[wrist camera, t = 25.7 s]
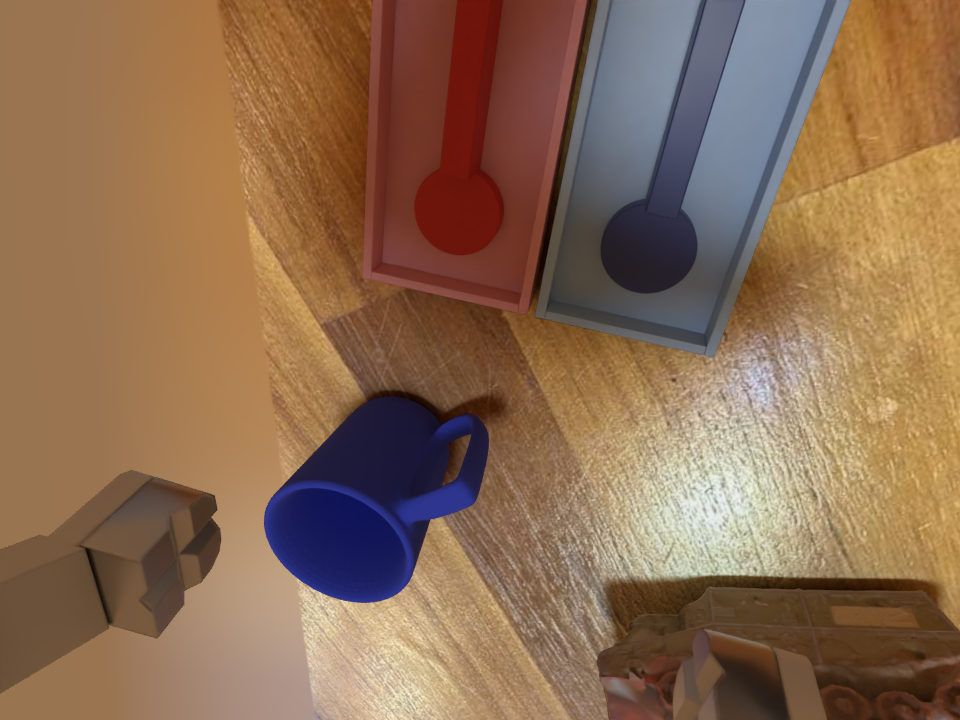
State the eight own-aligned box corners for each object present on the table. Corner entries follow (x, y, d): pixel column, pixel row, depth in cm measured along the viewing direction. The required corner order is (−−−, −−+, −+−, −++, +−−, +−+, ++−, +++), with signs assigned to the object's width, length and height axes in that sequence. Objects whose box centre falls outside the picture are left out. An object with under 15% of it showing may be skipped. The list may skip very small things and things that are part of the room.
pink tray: (376, 265, 34) (362, 278, 32) (395, -145, 25) (376, -158, 23) (533, 300, 32) (526, 315, 31) (614, -119, 23) (612, -130, 22)
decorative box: (910, 719, 40) (978, 897, 32) (606, 675, 46) (597, 818, 37) (958, 578, 34) (1057, 753, 26) (602, 546, 40) (589, 683, 31)
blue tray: (540, 302, 32) (534, 317, 31) (625, -117, 23) (623, -129, 22) (710, 340, 31) (713, 357, 29) (870, -88, 22) (889, -97, 20)
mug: (540, 446, 37) (509, 571, 28) (389, 497, 42) (325, 616, 34) (472, 336, 34) (415, 438, 26) (321, 405, 40) (232, 508, 31)
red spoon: (443, -61, 25) (425, -69, 23) (546, -45, 25) (537, -52, 23) (416, 239, 32) (400, 254, 30) (496, 257, 31) (486, 273, 29)
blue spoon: (669, -32, 24) (671, -37, 22) (784, -15, 23) (797, -19, 21) (592, 275, 31) (588, 293, 28) (680, 295, 30) (682, 314, 28)
